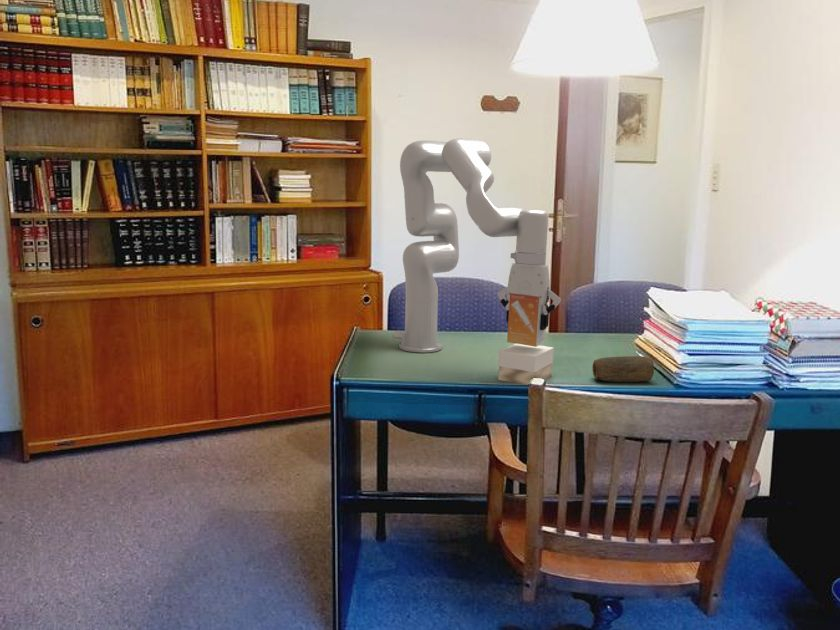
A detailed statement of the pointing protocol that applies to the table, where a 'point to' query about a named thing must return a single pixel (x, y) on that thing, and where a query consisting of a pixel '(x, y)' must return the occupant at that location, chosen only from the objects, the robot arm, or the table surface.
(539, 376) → the tower bottom
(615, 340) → the table surface
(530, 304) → the small box
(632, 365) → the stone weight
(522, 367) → the white flat block
